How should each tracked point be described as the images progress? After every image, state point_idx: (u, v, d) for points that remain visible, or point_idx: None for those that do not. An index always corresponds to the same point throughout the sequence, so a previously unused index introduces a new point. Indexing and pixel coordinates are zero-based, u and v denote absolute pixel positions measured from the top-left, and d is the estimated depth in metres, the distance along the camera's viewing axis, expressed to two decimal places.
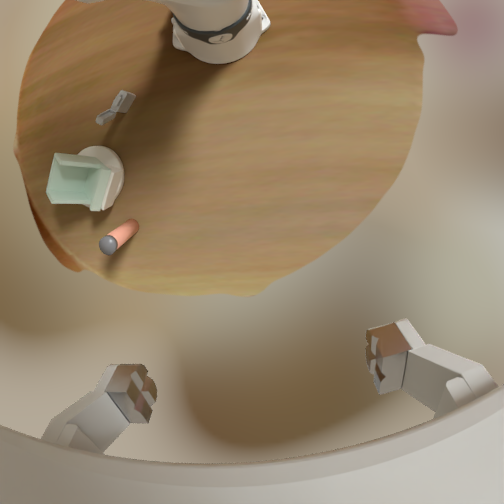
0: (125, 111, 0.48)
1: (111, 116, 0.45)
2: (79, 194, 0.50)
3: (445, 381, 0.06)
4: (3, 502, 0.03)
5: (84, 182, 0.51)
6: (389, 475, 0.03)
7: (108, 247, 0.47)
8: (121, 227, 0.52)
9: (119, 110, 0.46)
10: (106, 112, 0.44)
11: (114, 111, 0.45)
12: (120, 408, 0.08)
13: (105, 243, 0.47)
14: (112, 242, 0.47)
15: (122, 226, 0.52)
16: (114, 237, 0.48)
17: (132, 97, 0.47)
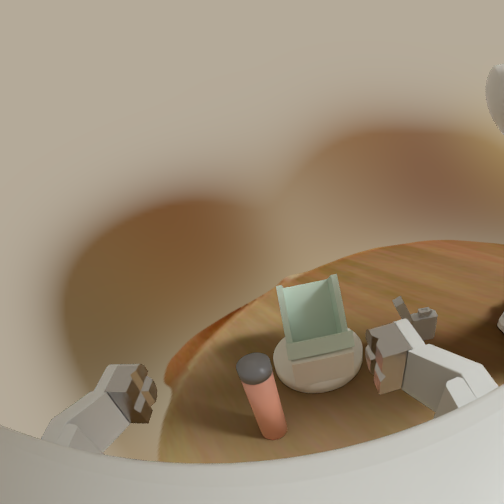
0: None
1: (407, 315, 0.36)
2: None
3: (445, 381, 0.06)
4: (3, 502, 0.03)
5: None
6: (389, 475, 0.03)
7: (251, 366, 0.26)
8: (279, 398, 0.29)
9: (415, 324, 0.36)
10: None
11: (411, 318, 0.37)
12: (120, 408, 0.08)
13: (256, 360, 0.27)
14: (265, 368, 0.26)
15: None
16: (271, 374, 0.26)
17: (431, 332, 0.37)
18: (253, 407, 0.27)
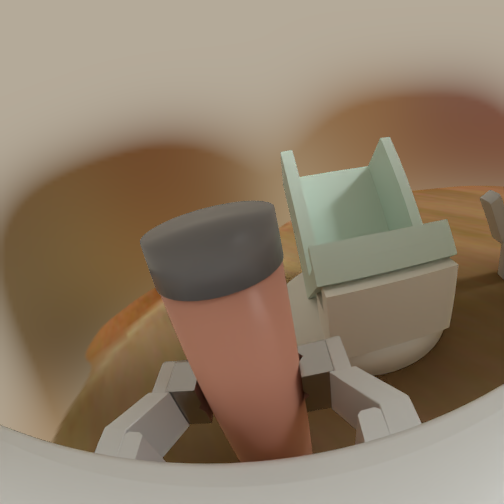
0: None
1: None
2: None
3: (366, 408, 0.06)
4: (3, 502, 0.03)
5: None
6: (389, 475, 0.03)
7: (199, 225, 0.07)
8: None
9: None
10: None
11: None
12: (181, 409, 0.08)
13: (222, 213, 0.07)
14: (252, 221, 0.06)
15: None
16: (280, 267, 0.07)
17: None
18: (215, 410, 0.08)
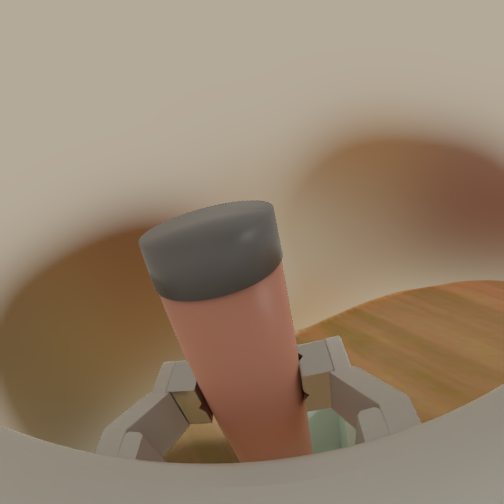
0: None
1: None
2: None
3: (366, 408, 0.06)
4: (3, 502, 0.03)
5: None
6: (389, 475, 0.03)
7: (197, 225, 0.07)
8: None
9: None
10: None
11: None
12: (182, 409, 0.08)
13: (221, 212, 0.07)
14: (251, 221, 0.06)
15: None
16: (280, 267, 0.07)
17: None
18: (215, 411, 0.08)
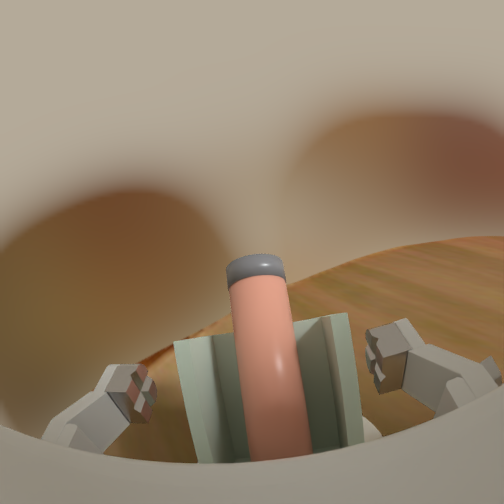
0: None
1: None
2: (226, 449, 0.14)
3: (445, 381, 0.06)
4: (3, 502, 0.03)
5: None
6: (389, 475, 0.03)
7: None
8: None
9: None
10: None
11: None
12: (120, 408, 0.08)
13: None
14: None
15: None
16: (284, 281, 0.16)
17: None
18: (242, 361, 0.14)
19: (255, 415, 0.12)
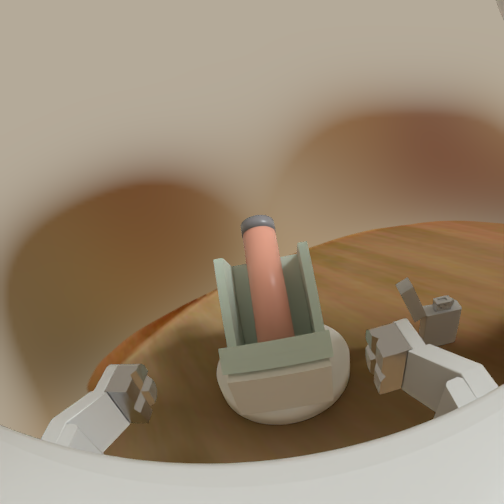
0: (426, 343, 0.25)
1: (418, 307, 0.23)
2: (240, 336, 0.26)
3: (445, 381, 0.06)
4: (3, 502, 0.03)
5: None
6: (389, 475, 0.03)
7: None
8: (284, 280, 0.27)
9: (429, 321, 0.24)
10: None
11: (424, 312, 0.24)
12: (120, 408, 0.08)
13: None
14: None
15: None
16: (274, 230, 0.28)
17: (452, 333, 0.24)
18: (251, 271, 0.26)
19: (258, 300, 0.25)
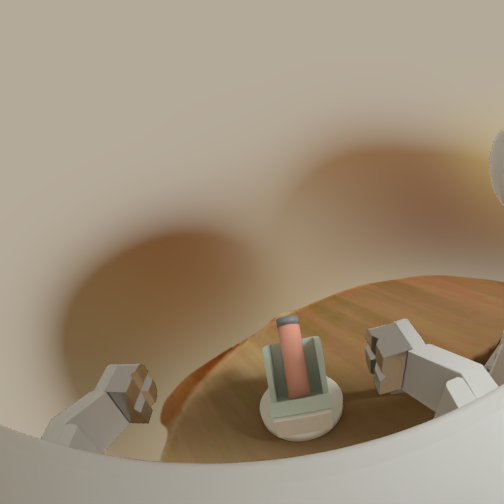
0: (393, 391, 0.38)
1: None
2: (276, 390, 0.40)
3: (445, 381, 0.06)
4: (3, 502, 0.03)
5: None
6: (389, 475, 0.03)
7: None
8: (304, 357, 0.41)
9: None
10: None
11: None
12: (120, 408, 0.08)
13: None
14: (294, 316, 0.42)
15: None
16: (298, 324, 0.42)
17: None
18: (284, 354, 0.40)
19: (289, 372, 0.38)
